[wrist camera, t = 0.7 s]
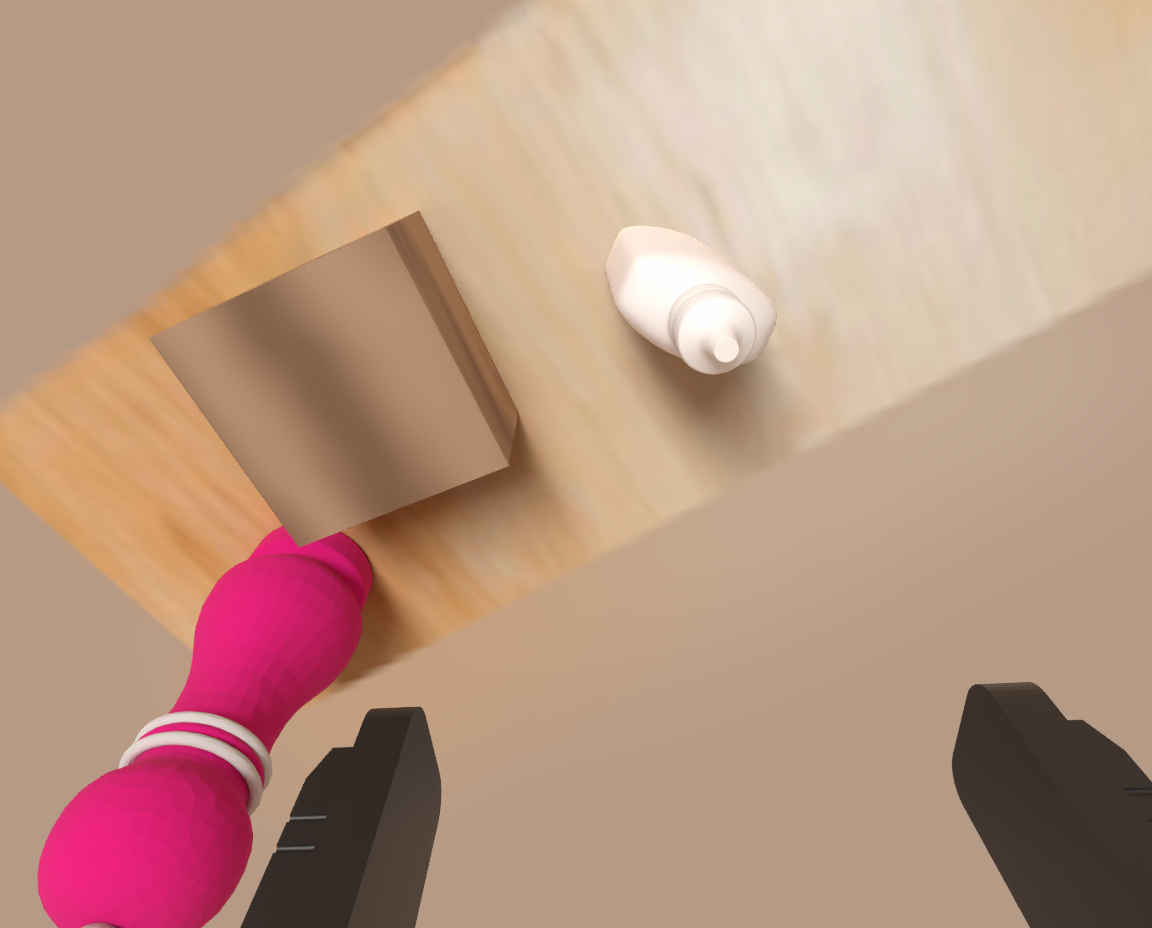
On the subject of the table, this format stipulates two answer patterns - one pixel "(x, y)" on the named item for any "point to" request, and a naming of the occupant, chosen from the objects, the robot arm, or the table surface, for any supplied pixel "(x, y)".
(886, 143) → the table surface
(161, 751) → the pepper mill
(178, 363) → the walnut box
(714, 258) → the eye dropper bottle
